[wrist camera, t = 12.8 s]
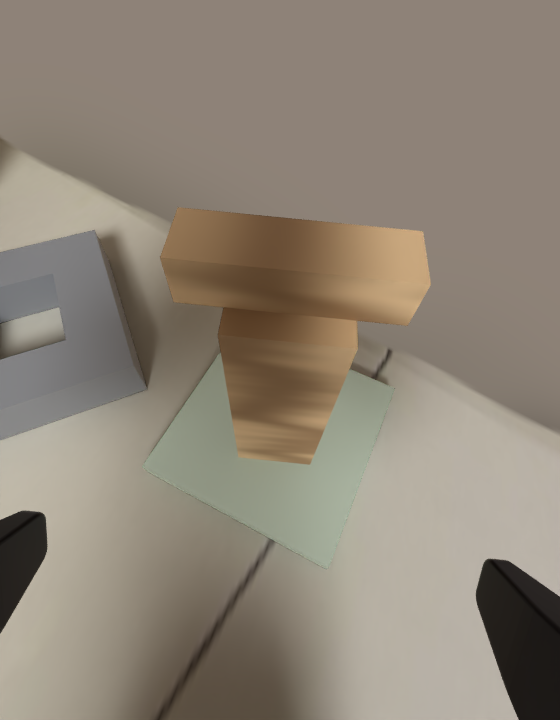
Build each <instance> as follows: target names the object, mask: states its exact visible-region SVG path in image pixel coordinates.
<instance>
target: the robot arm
mask: <svg viewBox="0 0 560 720" xmlns="http://www.w3.org/2000/svg"><path fill="white" fill-rule="evenodd" d="M46 552H47V530H46V518H45V515H44V514H43V513H41V512H34V511H20V512H18V513H15V514H13V515H11V516H8V517H6V518H4V519H2V520H0V633H1V632H2V630H3V628H4V627H5V625H6V623H7V622H8V620H9V618H10V617H11V615H12V613H13V611H14V610H15V608H16V606H17V605H18V603H19V601H20V599H21V598H22V596H23V594H24V593H25V591H26V589H27V587H28V586H29V584H30V582H31V581H32V579H33V577H34V575H35V574H36V572H37V570H38V569H39V567H40V565H41V563H42V562H43V560H44V558H45V555H46ZM476 601H477V605H478V609H479V612H480V615H481V617H482V620H483V623H484V626H485V629H486V632H487V635H488V638H489V641H490V644H491V647H492V650H493V653H494V656H495V659H496V662H497V665H498V668H499V670H500V673H501V676H502V679H503V682H504V685H505V687H506V690H507V693H508V695H509V698H510V700H511V702H512V705H513V707H514V710H515V712H516V714H517V717H518V719H519V720H560V597H559V596H558V595H557V594H555V593H554V592H552V591H551V590H549V589H548V588H547V587H545V586H544V585H542V584H541V583H539V582H538V581H537V580H535V579H534V578H532V577H531V576H529V575H528V574H527V573H525V572H524V571H522V570H521V569H520V568H518V567H517V566H515V565H514V564H512V563H511V562H509V561H506V560H499V559H487V560H486V561H485V562H484V564H483V567H482V571H481V575H480V578H479V582H478V586H477V590H476Z"/></svg>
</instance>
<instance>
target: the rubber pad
mask: <svg viewBox="0 0 560 720" xmlns="http://www.w3.org/2000/svg"><path fill="white" fill-rule="evenodd" d="M394 390H395V388H393V387H390V386H388V385H386V384H384V383H381V382H379V381H377V380H374V379H372V378H370V377H367V376H365V375H363V374H360V373H358V372H356V371H353V370H351V369H349V371H348V374H347V376H346V379H345V381H344V384H343V386H342V388H341V391H340V393H339V396H338V398H337V401H336V403H335V405H334V408H333V410H332V413H331V415H330V418H329V420H328V422H327V425H326V427H325V430H324V432H323V435H322V437H321V439H320V442H319V444H318V447H317V449H316V452H315V454H314V456H313V459H312V461H311V464H310V465H308V464H298V463H288V462H279V461H269V460H259V459H249V458H240V457H238V452H237V446H236V440H235V434H234V428H233V422H232V416H231V410H230V404H229V398H228V392H227V387H226V381H225V375H224V369H223V363H222V357H221V351H220V353H219V354H218V356H217V357H216V359H215V360H214V362H213V363H212V365H211V366H210V368H209V369H208V371H207V372H206V373H205V375H204V376H203V378H202V379H201V381H200V382H199V384H198V385H197V387H196V388H195V390H194V391H193V392H192V394H191V395H190V397H189V398H188V400H187V401H186V403H185V404H184V406H183V407H182V409H181V410H180V411H179V413H178V414H177V416H176V417H175V419H174V420H173V422H172V423H171V425H170V426H169V428H168V429H167V431H166V432H165V433H164V435H163V436H162V438H161V439H160V441H159V442H158V444H157V445H156V447H155V448H154V450H153V451H152V452H151V454H150V455H149V457H148V458H147V460H146V461H145V463H144V464H143V466H142V467H143V468H144V469H145V470H146V471H147V472H149V473H151V474H152V475H154V476H156V477H158V478H160V479H162V480H163V481H165V482H167V483H169V484H171V485H173V486H174V487H176V488H178V489H180V490H182V491H184V492H185V493H187V494H189V495H191V496H193V497H195V498H196V499H198V500H200V501H202V502H204V503H206V504H207V505H209V506H211V507H213V508H215V509H217V510H218V511H220V512H222V513H224V514H226V515H228V516H229V517H231V518H233V519H235V520H237V521H239V522H240V523H242V524H244V525H246V526H248V527H250V528H251V529H253V530H255V531H257V532H259V533H261V534H262V535H264V536H266V537H268V538H270V539H272V540H273V541H275V542H277V543H279V544H281V545H282V546H284V547H286V548H288V549H290V550H292V551H293V552H295V553H297V554H299V555H301V556H303V557H304V558H306V559H308V560H310V561H312V562H314V563H315V564H317V565H319V566H321V567H323V568H325V569H328V568H329V566H330V563H331V560H332V558H333V555H334V552H335V550H336V547H337V544H338V541H339V539H340V536H341V533H342V531H343V528H344V525H345V523H346V520H347V517H348V514H349V512H350V509H351V506H352V504H353V501H354V498H355V495H356V493H357V490H358V487H359V485H360V482H361V479H362V476H363V474H364V471H365V468H366V466H367V463H368V460H369V458H370V455H371V452H372V449H373V447H374V444H375V441H376V439H377V436H378V433H379V430H380V428H381V425H382V422H383V420H384V417H385V414H386V411H387V409H388V406H389V403H390V401H391V398H392V395H393V393H394Z"/></svg>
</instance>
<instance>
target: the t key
mask: <svg viewBox="0 0 560 720" xmlns="http://www.w3.org/2000/svg"><path fill="white" fill-rule="evenodd" d="M160 259H161V262H162V266H163V269H164V272H165V275H166V279H167V282H168V285H169V289H170V292H171V295H172V298H173V302H175V303H185V304H195V305H205V306H215V307H224V308H223V313H222V317H221V322H220V327H219V331H218V339H219V345H220V351H221V357H222V363H223V369H224V375H225V381H226V387H227V392H228V398H229V404H230V410H231V416H232V422H233V428H234V434H235V440H236V446H237V452H238V457H240V458H249V459H259V460H269V461H279V462H288V463H298V464H308V465H310V464H311V461H312V459H313V456H314V454H315V452H316V449H317V447H318V444H319V442H320V439H321V437H322V435H323V432H324V430H325V427H326V425H327V422H328V420H329V418H330V415H331V413H332V410H333V408H334V405H335V403H336V401H337V398H338V396H339V393H340V391H341V388H342V386H343V384H344V381H345V379H346V376H347V374H348V371H349V369H350V367H351V364H352V362H353V359H354V357H355V354H356V352H357V349H358V335H357V321H365V322H375V323H385V324H396V325H405V326H408V324H409V322H410V321H411V319H412V317H413V315H414V314H415V312H416V310H417V308H418V306H419V305H420V303H421V301H422V299H423V297H424V296H425V294H426V292H427V290H428V289H429V287H430V285H431V282H430V275H429V269H428V262H427V255H426V249H425V242H424V235H423V231H414V230H403V229H393V228H383V227H373V226H363V225H352V224H342V223H331V222H322V221H312V220H301V219H291V218H281V217H271V216H261V215H250V214H240V213H230V212H220V211H209V210H199V209H189V208H177V211H176V214H175V217H174V219H173V222H172V225H171V228H170V231H169V234H168V236H167V239H166V242H165V245H164V248H163V251H162V253H161V256H160Z"/></svg>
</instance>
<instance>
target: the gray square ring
mask: <svg viewBox="0 0 560 720" xmlns="http://www.w3.org/2000/svg"><path fill="white" fill-rule="evenodd" d="M56 307H60V313H61V318H62V323H63V328H64V333H65V338H66V340H64V341H60V342H57V343H54V344H50V345H47V346H44V347H40V348H37V349H34V350H30V351H27V352H24V353H20V354H17V355H14V356H10V357H7V358H4V359H0V440H2V439H5V438H8V437H11V436H14V435H17V434H20V433H23V432H25V431H28V430H31V429H34V428H37V427H40V426H43V425H46V424H48V423H51V422H54V421H57V420H60V419H63V418H66V417H69V416H72V415H74V414H77V413H80V412H83V411H86V410H89V409H92V408H95V407H97V406H100V405H103V404H106V403H109V402H112V401H115V400H118V399H120V398H123V397H126V396H129V395H132V394H135V393H138V392H141V391H144V390H146V389H147V387H146V383H145V380H144V377H143V373H142V370H141V367H140V363H139V360H138V357H137V353H136V350H135V347H134V343H133V340H132V337H131V333H130V330H129V326H128V323H127V320H126V316H125V313H124V310H123V306H122V303H121V300H120V296H119V293H118V290H117V286H116V283H115V280H114V276H113V273H112V270H111V266H110V263H109V260H108V258H107V256H106V254H105V251H104V249H103V247H102V245H101V243H100V241H99V239H98V236H97V234H96V232H95V230H92V231H88V232H84V233H80V234H76V235H71V236H67V237H63V238H59V239H54V240H50V241H46V242H42V243H38V244H33V245H29V246H25V247H21V248H17V249H12V250H8V251H4V252H0V323H3V322H6V321H10V320H13V319H17V318H21V317H24V316H28V315H31V314H35V313H38V312H42V311H46V310H49V309H53V308H56Z"/></svg>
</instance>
